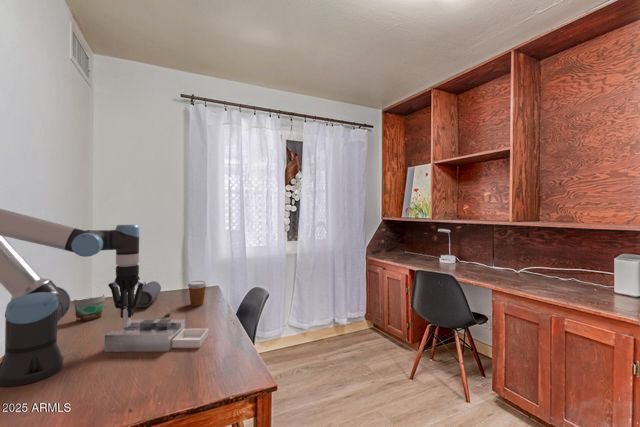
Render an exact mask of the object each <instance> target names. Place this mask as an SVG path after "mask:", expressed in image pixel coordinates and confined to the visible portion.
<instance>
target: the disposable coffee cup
mask: <svg viewBox="0 0 640 427" xmlns="http://www.w3.org/2000/svg"><path fill="white" fill-rule="evenodd" d="M207 285H208V284H207V281H204V280H194V281H189V283H188V284H187V286H188V292H189V302H190V306H191V307H200V306H203V305H204V301H205V300H204V299H205V295H206V294H205V293H206V289H207V288H206V287H207Z"/></svg>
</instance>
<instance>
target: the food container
mask: <svg viewBox="0 0 640 427" xmlns="http://www.w3.org/2000/svg"><path fill="white" fill-rule="evenodd" d="M105 300H106V296H105V294H102V296H96V297H87V298H84V299H75V298H74V300H73V301H72V305H74V311H75V312H74V313H75V318H76V319H75V320H76V322H79V323H85V322H93V321H96V320H99V319H101V318H102V315H103V314H102V313H103V307H104V301H105Z"/></svg>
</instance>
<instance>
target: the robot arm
mask: <svg viewBox="0 0 640 427" xmlns="http://www.w3.org/2000/svg"><path fill="white" fill-rule="evenodd" d="M7 238H10V239H15V240H19V241H22V242H27V243H28V242H29V243H33V244H37V245H41V246H45V247H49V248H55V249H57V250H58V249H59V250H63V251H65V252H70V253H74V254H75V255H77V256H79V257H85V258H86V257H87V258H88V257H92V256H95V255H97V254H99V253H100V252H101V251H114V250H115V265H116V267H115V276H116V277H115V279H114V281H113V282H109V283H108V287H109V289H110V291H111V296H112V298H113V303H114V308H116V309H119V310H120V317H121V319H122V327H123V328H124V327H128V326H130V325H131V319H132V317H133V316H134V309H135V308H137V307H139V302H140V298H141V294H142V291H143V287H144V286H145V285H146V284H147V283H146V281H142V280H141V279H140V276H139V274H140V265H139V263H140V228H139V226H138V225H137V224H117V225H116V226H115V229H111V230H110V229H109V230H108V229H105V230H104V229H103V230H101V229H99V230H98V229H97V230H96V229H93V230H92V229H91V230H90V229H85V230H84V229H79V228H76V227H71V226H68V225H64V224H61V223H57V222H52V221H49V220H45V219H41V218H37V217H34V216H30V215H26V214H22V213H19V212H15V211H11V210H7V209H3V208H0V285H1V286H2V287H3V288H4V289H5V290H6V291H7V292H8V293H9V294H10V295H11V298H10V301H9V302H7V304H6V307H5V312H4V317H5V322H4V323H5V324H4V325H5V326H4V327H5V329H4V330H5V331H4V333H5V337H4V338H5V340H4V341H5V342H4V356H3V358H2V360H1V361H0V386H1V387H16V386H23V385H27V384H32V383H36V382H39V381H41V380H44V379H46V378H49V377H51V376H53V375H56V374H57V373H58V372H59V371H61V370H62V368H64V364H65V363H64V359H65V358H64V356H63V355H62V352H61V350H60V347H59V345H58V344H59V343H58V322H59V321H60V320H61V319H62V318H63V317H64V316H65V315H66V314H67V313H68V310H69V308H70V306H71V295H70V294H69V292H68V291H67V290H66V289H64V288H63V287H60V286H57V285H56V284H55V283H54V282H53V281H52V280H51V279H50V278H43V277H41V276H40V275H39V274H38V272H37V271H36V270H35V269H34V268H33V267H32V266H31V265H30V264H29V263H28V261H27V260H26V259H25V258H24V257H23V256H22V255H21V254H20V253H19V251H17V249H16V248H15V247H14V246H13V245H12V244H11V243H10V241H8V239H7ZM135 288H136V289H135ZM135 290H136V291H135Z"/></svg>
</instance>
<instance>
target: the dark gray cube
mask: <svg viewBox="0 0 640 427" xmlns="http://www.w3.org/2000/svg"><path fill="white" fill-rule="evenodd" d="M155 329H156V320H144V321H142V322H141V323H140V331H155Z"/></svg>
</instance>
